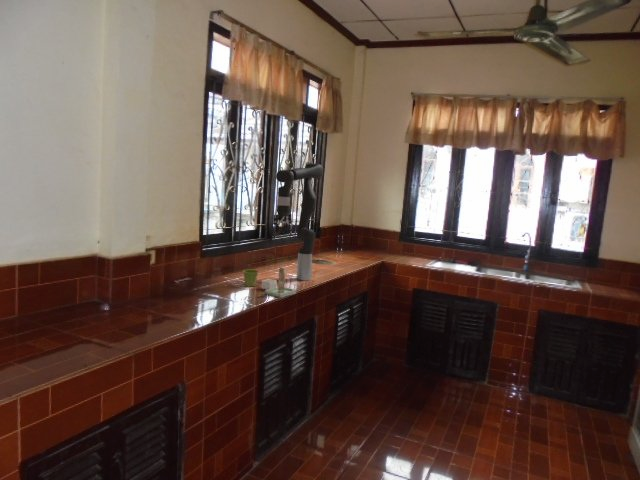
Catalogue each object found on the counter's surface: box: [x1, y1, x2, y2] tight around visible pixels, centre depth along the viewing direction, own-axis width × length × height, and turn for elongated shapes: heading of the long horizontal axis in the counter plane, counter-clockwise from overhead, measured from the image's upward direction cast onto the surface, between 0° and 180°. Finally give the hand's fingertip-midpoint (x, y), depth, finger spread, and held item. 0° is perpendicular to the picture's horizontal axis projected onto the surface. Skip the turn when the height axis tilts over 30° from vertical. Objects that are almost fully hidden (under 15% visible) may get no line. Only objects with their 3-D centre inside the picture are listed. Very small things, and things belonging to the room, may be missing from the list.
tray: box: [264, 286, 298, 299], centre depth 262 cm, size 15×11×2 cm
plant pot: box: [242, 269, 259, 287], centre depth 276 cm, size 9×9×9 cm
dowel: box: [277, 266, 286, 293], centre depth 261 cm, size 3×3×14 cm
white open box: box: [261, 278, 278, 291], centre depth 270 cm, size 6×6×5 cm
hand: (281, 231), depth 275 cm, fingers open, 8 cm apart
